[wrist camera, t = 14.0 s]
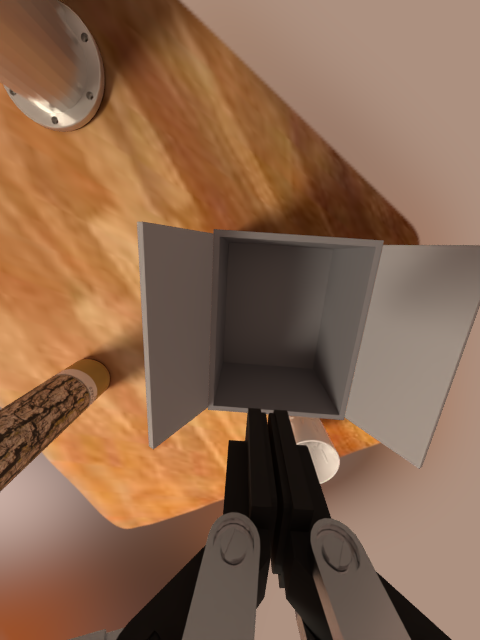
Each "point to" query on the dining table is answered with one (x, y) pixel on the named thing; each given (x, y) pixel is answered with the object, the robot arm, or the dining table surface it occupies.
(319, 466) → the white cup
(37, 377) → the dining table surface
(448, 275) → the flap
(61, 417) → the paper tube
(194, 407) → the flap
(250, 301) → the carton
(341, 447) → the dining table surface
